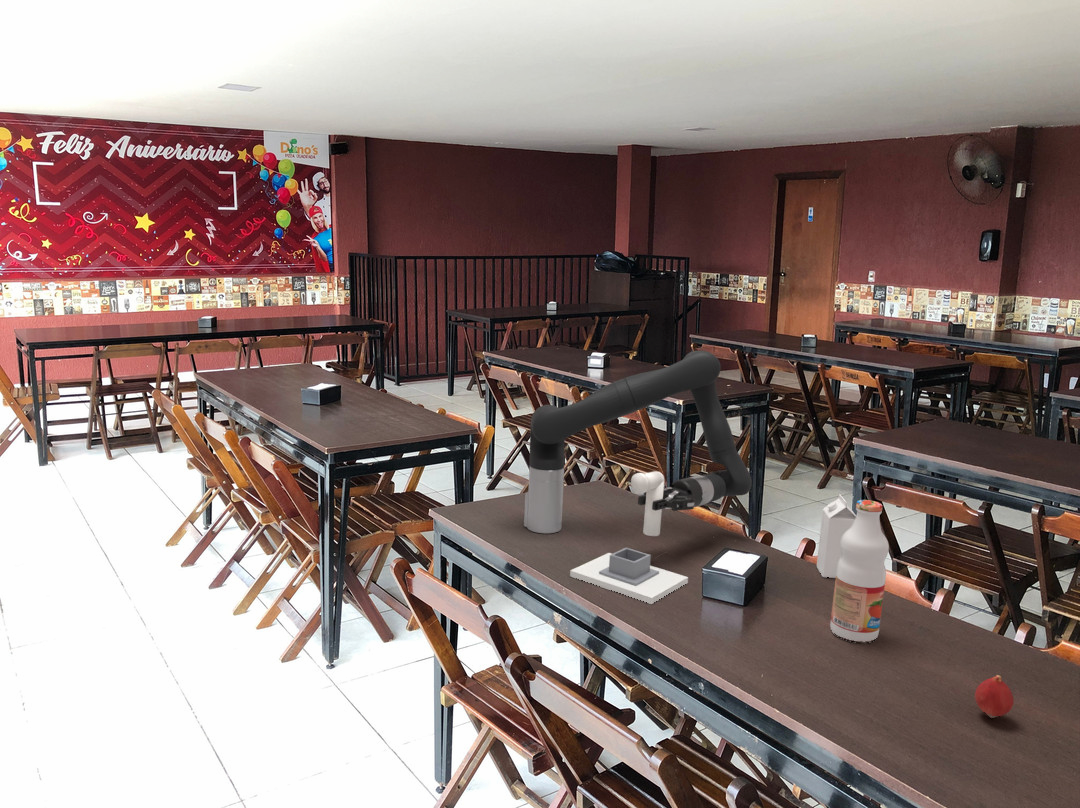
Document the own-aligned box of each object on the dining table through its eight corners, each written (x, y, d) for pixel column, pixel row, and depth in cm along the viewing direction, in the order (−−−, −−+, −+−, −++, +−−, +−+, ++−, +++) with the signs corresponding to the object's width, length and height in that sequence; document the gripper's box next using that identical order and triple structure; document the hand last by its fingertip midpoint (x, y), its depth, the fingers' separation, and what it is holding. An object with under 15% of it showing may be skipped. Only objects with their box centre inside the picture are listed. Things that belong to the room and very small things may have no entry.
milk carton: (845, 569, 214) (854, 495, 211) (852, 580, 207) (862, 503, 204) (816, 566, 215) (824, 492, 211) (822, 577, 208) (831, 501, 204)
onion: (965, 708, 152) (971, 666, 150) (996, 708, 152) (1003, 666, 151) (984, 727, 146) (991, 683, 144) (1017, 727, 146) (1024, 683, 145)
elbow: (649, 528, 214) (654, 466, 211) (664, 534, 211) (669, 471, 208) (626, 535, 209) (631, 471, 206) (641, 541, 206) (647, 476, 202)
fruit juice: (828, 620, 185) (843, 493, 179) (875, 627, 182) (892, 499, 177) (830, 639, 176) (846, 507, 170) (880, 647, 173) (897, 513, 168)
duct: (569, 576, 202) (571, 551, 201) (608, 558, 214) (610, 534, 213) (651, 604, 189) (653, 577, 188) (687, 583, 201) (689, 558, 200)
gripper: (671, 471, 224) (625, 481, 212) (716, 485, 213) (670, 496, 202) (668, 499, 225) (623, 510, 214) (713, 514, 215) (667, 527, 203)
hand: (646, 503), depth 208 cm, fingers closed on elbow, 4 cm apart
